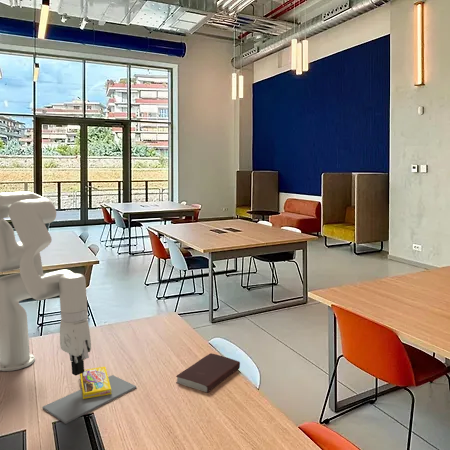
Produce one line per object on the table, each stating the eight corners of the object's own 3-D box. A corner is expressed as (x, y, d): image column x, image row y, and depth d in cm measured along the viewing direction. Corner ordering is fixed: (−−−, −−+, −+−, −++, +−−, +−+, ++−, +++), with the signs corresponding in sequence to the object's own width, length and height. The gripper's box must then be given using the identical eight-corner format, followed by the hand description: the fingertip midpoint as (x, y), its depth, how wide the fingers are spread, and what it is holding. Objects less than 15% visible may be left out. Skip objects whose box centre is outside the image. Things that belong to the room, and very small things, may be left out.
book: (240, 369, 147) (240, 360, 146) (207, 394, 130) (207, 384, 130) (210, 361, 153) (209, 352, 153) (175, 384, 137) (175, 374, 137)
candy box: (79, 369, 141) (105, 365, 144) (79, 375, 141) (105, 372, 144) (82, 393, 126) (112, 388, 129) (82, 400, 126) (112, 395, 129)
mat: (42, 408, 123) (42, 406, 123) (112, 376, 142) (112, 375, 142) (65, 423, 116) (65, 421, 116) (136, 388, 134) (136, 386, 134)
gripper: (49, 313, 132) (53, 371, 134) (77, 324, 122) (81, 385, 124) (71, 307, 137) (75, 362, 140) (100, 316, 128) (103, 375, 130)
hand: (78, 373), depth 132 cm, fingers closed
